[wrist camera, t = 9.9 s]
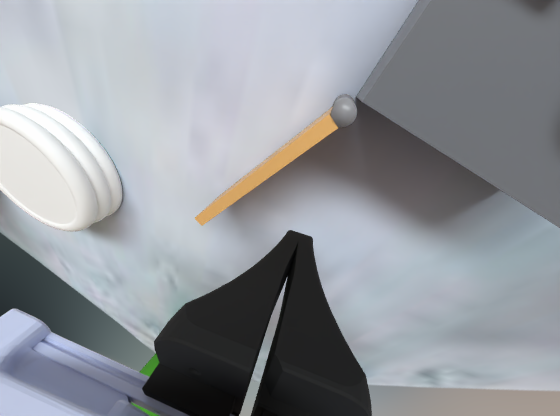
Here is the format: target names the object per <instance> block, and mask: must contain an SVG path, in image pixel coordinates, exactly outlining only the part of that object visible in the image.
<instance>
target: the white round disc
mask: <svg viewBox="0 0 560 416" xmlns="http://www.w3.org/2000/svg"><path fill="white" fill-rule="evenodd" d="M0 190H1V191H2V192H3V193H4V194H5V195H6V196H7V197H8V198H9V199H10V200H11V201H13V202H14V203H15V204H16V205H17V206H18V207H20V208H21V209H22V210H24V211H25V212H26V213H28V214H29V215H30V216H32V217H34V218H35V219H37V220H38V221H40V222H42V223H44V224H46V225H48V226H50V227H53V228H56V229H59V230H64V231H80V230H83V229H86V228H88V227H89V226H90V225H91V224H92V223H96V222H99V221H101V220H102V219H103V218H104V217H106V216H109V215H111V214H113V213H114V212H115V211H116V210H117V209H118V208H119V207H120V205H121V202H122V185H121V181H120V177H119V175H118V172H117V170H116V167H115V165H114V163H113V161H112V160H111V158H110V156H109V155H108V153H107V152H106V150H105V149H104V148H103V146H102V145H101V144H100V142H99V141H98V140H97V139H96V138H95V137H94V136H93V135H92V134H91V133H90V132H89V131H88V130H87V129H86V128H85V127H84V126H83V125H82V124H80V123H79V122H78V121H77V120H75V119H74V118H72V117H71V116H69V115H68V114H66V113H64V112H63V111H61V110H59V109H56V108H54V107H51V106H48V105H43V104H37V103H28V104H24V105H16V104H10V105H5V106H2V107H0Z"/></svg>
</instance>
